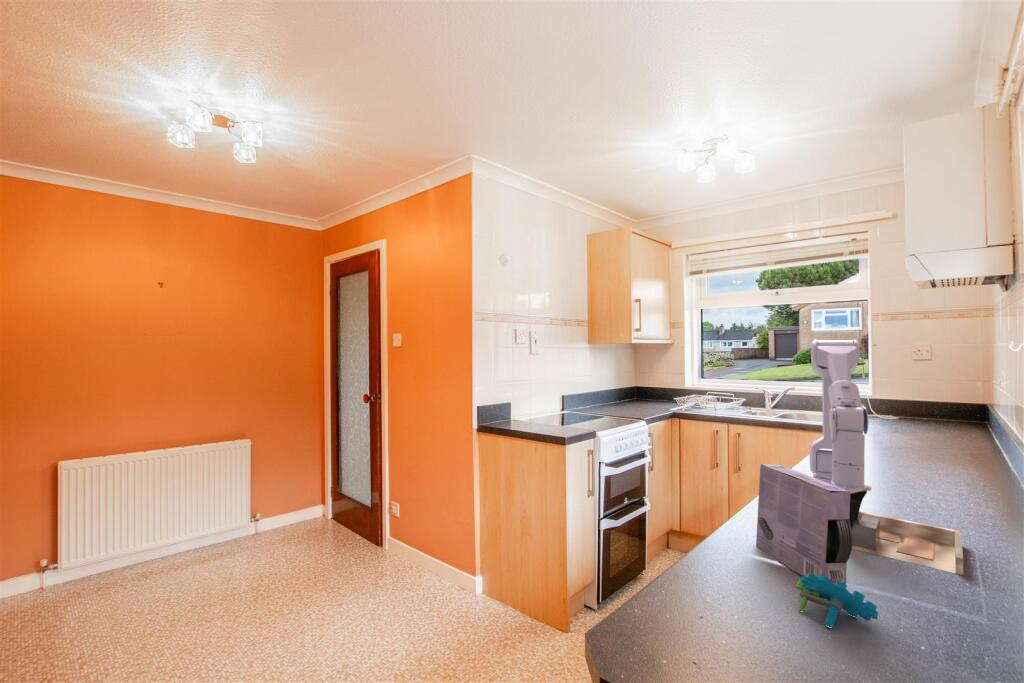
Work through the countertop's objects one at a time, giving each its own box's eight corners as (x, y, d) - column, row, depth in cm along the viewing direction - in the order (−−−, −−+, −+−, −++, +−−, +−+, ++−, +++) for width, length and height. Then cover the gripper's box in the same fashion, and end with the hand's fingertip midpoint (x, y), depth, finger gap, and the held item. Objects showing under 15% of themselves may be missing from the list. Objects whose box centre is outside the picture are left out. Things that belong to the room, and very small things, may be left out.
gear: (893, 621, 71) (859, 580, 69) (882, 659, 69) (846, 619, 66) (817, 596, 81) (785, 560, 79) (805, 629, 78) (772, 593, 76)
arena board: (816, 542, 104) (816, 526, 104) (831, 520, 117) (831, 505, 117) (963, 578, 88) (963, 558, 88) (960, 548, 102) (961, 531, 102)
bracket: (823, 538, 104) (824, 517, 104) (830, 528, 110) (830, 508, 110) (875, 550, 98) (875, 528, 98) (879, 539, 104) (879, 518, 104)
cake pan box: (854, 592, 83) (855, 489, 83) (829, 594, 82) (829, 490, 82) (776, 546, 102) (776, 462, 102) (754, 547, 101) (755, 463, 101)
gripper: (866, 472, 95) (866, 541, 95) (875, 460, 106) (874, 522, 106) (824, 465, 100) (824, 531, 100) (836, 455, 111) (836, 514, 111)
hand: (847, 526), depth 103 cm, fingers open, 7 cm apart
